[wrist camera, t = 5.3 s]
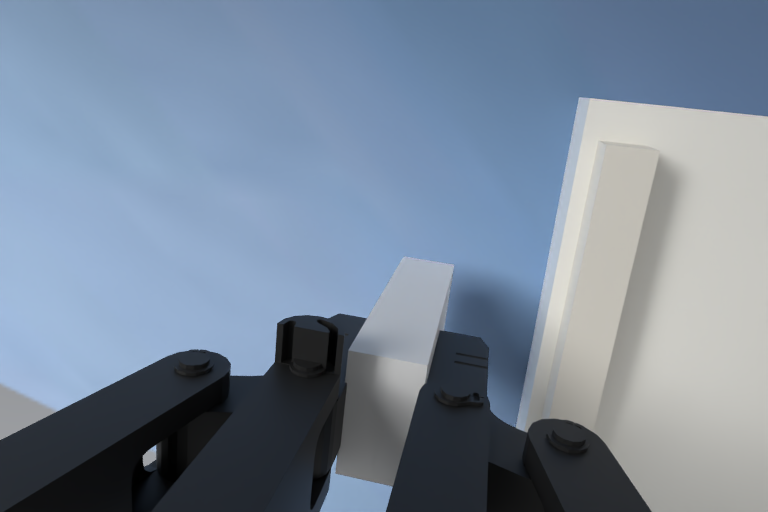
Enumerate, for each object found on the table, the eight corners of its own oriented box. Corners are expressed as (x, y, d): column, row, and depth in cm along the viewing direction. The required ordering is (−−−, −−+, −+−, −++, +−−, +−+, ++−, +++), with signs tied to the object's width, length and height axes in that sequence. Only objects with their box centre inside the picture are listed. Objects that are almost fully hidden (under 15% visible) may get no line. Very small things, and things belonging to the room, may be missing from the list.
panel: (509, 447, 20) (512, 521, 17) (576, 97, 17) (597, 99, 13) (886, 520, 19) (976, 620, 15) (1049, 146, 15) (1216, 163, 12)
